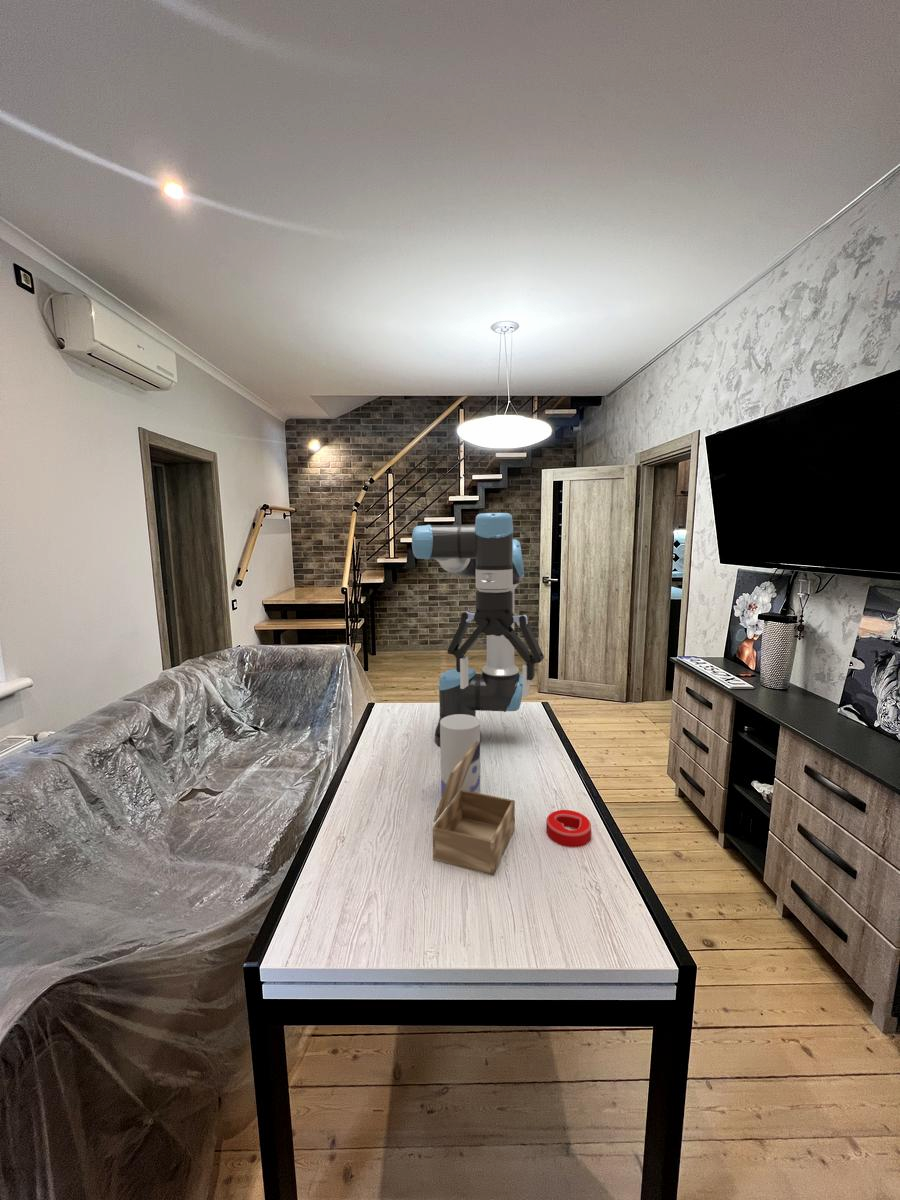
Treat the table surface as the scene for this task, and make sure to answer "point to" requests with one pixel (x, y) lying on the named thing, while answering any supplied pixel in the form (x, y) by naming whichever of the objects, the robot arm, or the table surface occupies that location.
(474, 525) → the robot arm
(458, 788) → the lid
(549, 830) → the decorative ornament
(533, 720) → the table surface
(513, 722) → the table surface
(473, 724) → the container
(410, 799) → the table surface
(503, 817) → the wooden box
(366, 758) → the table surface
